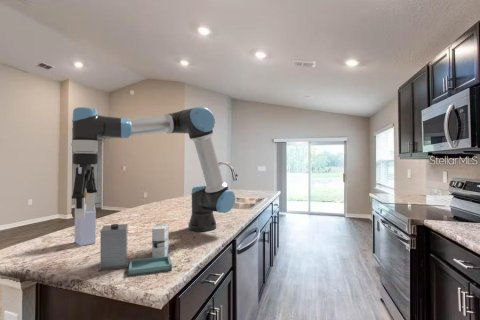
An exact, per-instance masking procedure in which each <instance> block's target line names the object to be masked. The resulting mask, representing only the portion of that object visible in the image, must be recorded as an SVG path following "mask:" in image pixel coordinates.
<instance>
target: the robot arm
mask: <svg viewBox="0 0 480 320" xmlns="http://www.w3.org/2000/svg"><path fill="white" fill-rule="evenodd" d="M71 122H72V142H71V143H70V145H71V147H72V152H74V153H73V154H72V164H73V165H79V166H77V167H75V177H74V185H73V191H72V196H71V199H74V220H75V219H83V218H85V198H84V194H85V192H87V193H86V211H95V210H96V207H95V204H96V203H95V199H96V198H95V197H96V195H95V194H96V193H98V189H97V186H96V179H95V177H96V176H95V166H92V165H98V162H99V161H98V159H99V158H98V157H99V156H98V154H97V152H98V151H99V149H98V148H99V145H98V144H99V141H100V140H101V141H102V140H110V139H128V138H130V137H132V136H133V137H134V136H139V135H140V136H141V135H150V134H157V133H158V134H159V133H166V134H169V135H170V134H188V137H189V140H192V141H193V142H194V143H193V144H194V146H195V149H196V150H195V151H196V153H197V154H196V155H197V156H198V160H199V163H200V168H201V170H202V174H203V177H204V181H205V184H206V185H203V186H202V185H201V186H194V187H192V189H191V193H190V195H191V214H190V215H191V216H190V219H189V222H188V230H189V231H192V232H210V231H213V230H216V229H217V222H216V218H215V215H214V212H216V213H220V214H221V213H222V214H226V213H229V212H230V211H232V209H233V208H234V205H235V203H236V195H235V193H234V191H232V190H231V189H229V187H228V184H227V182H225V181H224V179H223V175H222V172H221V169H220V165H219V161H218V157H217V153H216V150H215V146H214V143H213V139H212V136H213V134H214V130H213V129H215V128H214V127H215V124H216V119H215V116H214V114H213V112H212V111H211V110H210V109H208V108H207V107H204V106H197V107H192V108H188V109H187V108H186V109H182V110H179V111H176V112H171V113H165V114H163V115H162V116H161V115H160V116H147V117H134V118H133V117H132V118H122V117H116V116H115V117H114V116H105V115H99V113H98V109H96V108H92V107H87V106H86V107H83V106H79V107H76V108H74V109H73V111H72V121H71Z"/></svg>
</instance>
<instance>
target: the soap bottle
mask: <svg viewBox="0 0 480 320" xmlns="http://www.w3.org/2000/svg"><path fill="white" fill-rule="evenodd" d="M86 193H87V191H85V194H84V198H85V218H83V219H75V218H74V243H76V244H77V245H78V246H80V247H82V246H87V245H92V244H96V240H97V239H96V238H97V234H96V230H97V229H96V222H97V221H96V217H97V216H96V215H97V213H96V209H95V211H86Z"/></svg>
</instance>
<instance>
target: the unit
mask: <svg viewBox="0 0 480 320" xmlns="http://www.w3.org/2000/svg"><path fill="white" fill-rule="evenodd" d="M129 263H130V257H128V223H123V224H118V223H112V224H109V225H103V226H102V228H101V230H100V264H99V268H98V272H104V271H112V270H119V269H121V268H122V269H129Z"/></svg>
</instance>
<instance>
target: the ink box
mask: <svg viewBox="0 0 480 320" xmlns="http://www.w3.org/2000/svg"><path fill="white" fill-rule="evenodd" d="M151 232H152V233H151V234H152V235H151V237H152V238H151V240H152V242H151V245H152V246H151V248H152V249H151V250H152V251H151V258H153V257H162V256H168V254H169V253H170V252H169V249H170V248H169V247H170V246H169V245H170V244H169V238H170V237H169V233H170V232H169V223H157V224H155V226H153V227H152V228H151Z"/></svg>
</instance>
